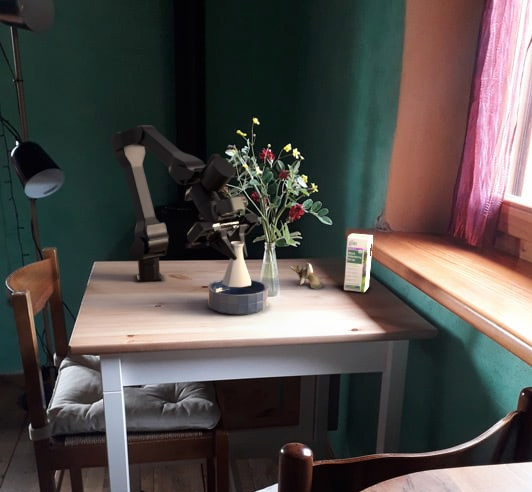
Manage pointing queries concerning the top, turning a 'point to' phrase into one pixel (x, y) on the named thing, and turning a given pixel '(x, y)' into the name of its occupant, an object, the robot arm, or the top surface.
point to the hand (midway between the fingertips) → (240, 258)
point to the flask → (237, 269)
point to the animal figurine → (308, 276)
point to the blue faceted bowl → (237, 298)
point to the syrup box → (358, 262)
